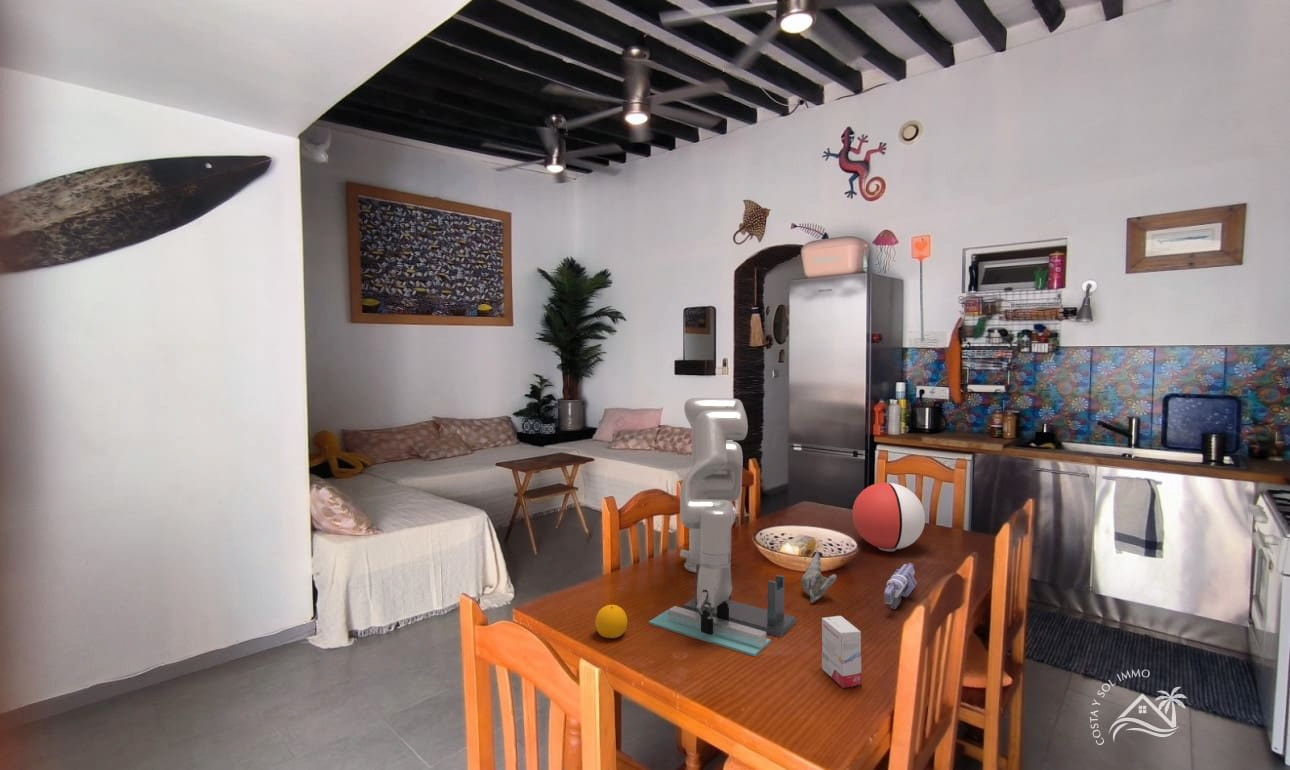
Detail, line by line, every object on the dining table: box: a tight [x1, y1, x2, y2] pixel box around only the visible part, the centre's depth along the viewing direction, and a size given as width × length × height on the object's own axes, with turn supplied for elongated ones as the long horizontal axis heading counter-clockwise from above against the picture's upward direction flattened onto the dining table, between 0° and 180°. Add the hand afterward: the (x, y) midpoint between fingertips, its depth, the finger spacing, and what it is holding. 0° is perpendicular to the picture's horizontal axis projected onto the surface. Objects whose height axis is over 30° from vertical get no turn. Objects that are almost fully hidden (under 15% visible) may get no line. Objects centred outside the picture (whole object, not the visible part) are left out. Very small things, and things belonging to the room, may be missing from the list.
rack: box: [683, 564, 797, 638], centre depth 166 cm, size 28×10×12 cm, turn 55°
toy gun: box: [883, 562, 918, 610], centre depth 176 cm, size 7×28×8 cm, turn 145°
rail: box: [667, 605, 767, 649], centre depth 156 cm, size 26×3×3 cm, turn 55°
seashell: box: [801, 551, 838, 604], centre depth 180 cm, size 10×17×10 cm, turn 146°
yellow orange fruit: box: [594, 604, 628, 639], centre depth 155 cm, size 8×8×8 cm
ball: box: [852, 482, 926, 552], centre depth 221 cm, size 24×24×23 cm
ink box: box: [821, 615, 863, 689], centre depth 135 cm, size 9×5×12 cm, turn 13°
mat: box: [648, 609, 772, 658], centre depth 157 cm, size 30×9×1 cm, turn 55°
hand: (715, 626), depth 156 cm, fingers open, 7 cm apart
